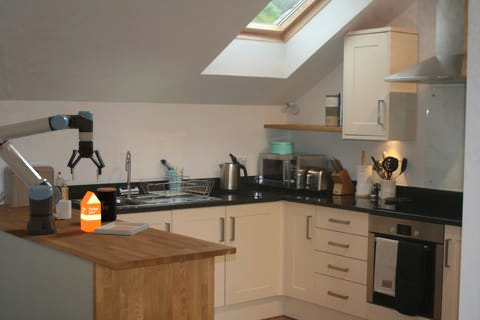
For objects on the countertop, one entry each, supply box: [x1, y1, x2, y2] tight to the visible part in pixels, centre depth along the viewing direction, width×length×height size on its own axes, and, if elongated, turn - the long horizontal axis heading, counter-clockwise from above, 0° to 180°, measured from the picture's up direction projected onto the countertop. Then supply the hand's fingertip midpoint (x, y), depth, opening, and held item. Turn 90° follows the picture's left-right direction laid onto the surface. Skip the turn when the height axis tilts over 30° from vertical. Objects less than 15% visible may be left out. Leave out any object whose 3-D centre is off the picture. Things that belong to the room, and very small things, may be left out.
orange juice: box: [80, 191, 102, 233], centre depth 359 cm, size 8×9×20 cm
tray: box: [93, 221, 150, 236], centre depth 360 cm, size 24×20×2 cm
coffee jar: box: [96, 187, 118, 222], centre depth 392 cm, size 11×11×18 cm
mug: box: [53, 199, 72, 220], centre depth 397 cm, size 12×8×10 cm
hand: (86, 180), depth 365 cm, fingers open, 13 cm apart
